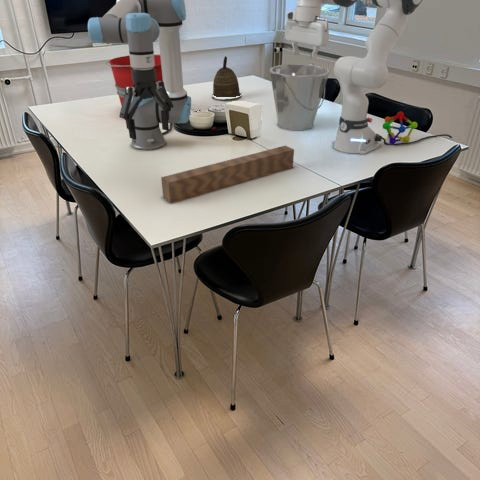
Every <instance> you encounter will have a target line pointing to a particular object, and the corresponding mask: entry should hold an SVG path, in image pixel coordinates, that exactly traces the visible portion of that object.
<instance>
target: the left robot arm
mask: <svg viewBox="0 0 480 480" xmlns="http://www.w3.org/2000/svg"><path fill="white" fill-rule="evenodd" d="M186 11H187V10H186V3H185V0H116V2H115V4H114V5H113V6H112V7H111V8H110V9H108V11H107V12H106V13H105V14H104V15H103V16H102V17H98V16H96V17H90V18H89V19H88V21H87V34H88V37H89V39H90V40H91V42H93V43H95V44H101V45H103V44H128V53H129V55H130V65H131V67H132V68H133V69H132V70H131V72H132V80H133V83H134V85H133V87H128V86H126V87H125V96H124V100H123V104H122V106H121V107H120V111H119V118H120V119H124V120H125V125H126V130H128V135H129V138H130V139H131V147H132V148H134V149H135V150H141V151H151V150H153V151H154V150H157V149H161V148H163V147H164V146H165V144H166V140H165V137H164V135H166V134H167V133H170V132H171V131H172V128H173V127H172V126H173V124H178V125H179V124H187V123H188V122H189V121H190V118H191V117H190V116H191V114H190V113H191V112H192V110H191V109H192V97H191V96H189V95H188V91H187V90H186V89H185V88H184V80H183V79H184V78H183V67H182V65H183V64H182V52H181V50H182V49H181V37H180V36H181V35H180V29H181V28H182V26H183V24H184V23H183V21H186V19H187V14H186ZM157 40H158V45H159V55H160V57H161V68H162V78H163V82H162V81H157V82H155V80H156V71H155V69H154V68H153V67H154V66H155V60H154V55H155V51H154V43H155V42H156V41H157ZM156 88H158V90H159V92H160V94H161V96H159V94H158V93H157V92H156V91H155V90H156ZM134 92H135V94H134ZM133 94H134V96H133ZM132 96H133V97H132ZM198 110H199V111H200V112H201V109H198ZM132 118H133V119H132ZM160 124H161V127H160ZM162 130H164V132H162Z"/></svg>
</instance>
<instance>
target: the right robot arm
mask: <svg viewBox="0 0 480 480" xmlns="http://www.w3.org/2000/svg"><path fill="white" fill-rule="evenodd" d="M357 2H358V0H297V2H296V6H295V9H293V10H290V11H288V12H287V13H286V14H285V18H286V22H285V26H284V27H285V28H284V38H285V40H286V41H289V42H291V47H292V49H293V55H295V56H299V55H300V49H299V46H298V45H299V44H303V45H310V46H312V52H310V56H309V58H310V59H314V60H316V59H317V56H318V53H319V51H320V49H321V47H327V46H328V44H329V40H330V39H329V38H330V29H329V21H328V19H327V17H324V16H321V13H322V5H329V6H339V7H343V8H349V7H352V6H353V5H354V4H356V3H357ZM371 2H372V4H373V6H375V7H378V8H385V13H384V15H383V16H382V17H381V18H380V19H379V21H378V23H376V25H375V27H374V28H373V29H372V31H371V32H370V34H369V35H368V37H367V38H366V39H365V43H364V44H365V45H364V46H365V51H366V52H367V53H366V55H365V56H364V57H359V56H353V55H347V56H346V55H345V56H341V57H339V58H338V59H337V60H336V61H335V63H334V66H333V75H334V77H335V78H336V80H337V81H338V84H339V86H340V90H341V96H342V102H341V103H342V104H341V114H340V116H339V121H338V127H337V131H336V135H335V139H334V140H333V144H334V145H333V149H335V150H336V151H338V152H341V153H347V154H360V155H365V154H367V153H370V152H372V151H373V150H376V149H378V148H380V147H381V144H380V142H382V140H383V144H384V145H385V146H401V145H410V144H415V143H418V142H420V141H423V140H426V139H430V138H438V137H449V138H450V139H453V137H452V135H451V134H447V133H446V134H445V133H443V134H436V135H429V136H425V137H421V138H419V139H417V140H413V141H409V142H398V143H397V142H396V143H395V144H390V143H388V142H387V141H386V138H384V137H383V136H382V135H381V134H379V133H376V132H375V131H374V130H373V129H372V128H371V127H370V126H369V124H368V123H370V124H372V122H373V118H371V117H367V115H368V110H369V104H370V103H369V98H368V96H367V95H366V94H365V92H364V90H363V88H364V89H371V90H372V89H373V90H375V89H376V90H377V89H381V88H382V87H383V86H385V84H386V82H387V81H388V78H389V68H388V66H387V59H388V56H389V54H390V53H391V51H392V49H393V48H394V46H395V45H396V43H397V42H398V41H399V39H400V38H401V36H402V34H403V32H404V31H405V29H406V26H407V24H408V21H409V15H411V14H412V13H413V12H415V10H416V9H417V8H418V7H419V6H420V5H421V3H422V2H423V0H371Z"/></svg>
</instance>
